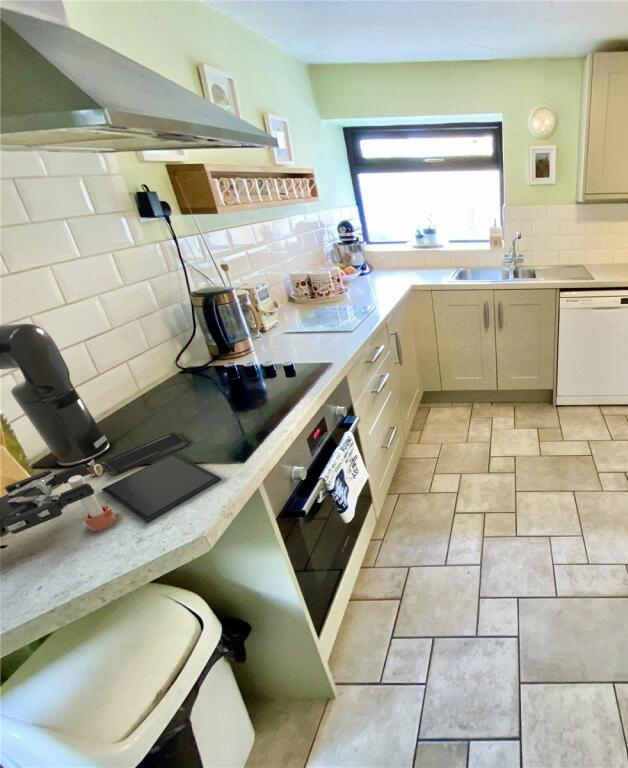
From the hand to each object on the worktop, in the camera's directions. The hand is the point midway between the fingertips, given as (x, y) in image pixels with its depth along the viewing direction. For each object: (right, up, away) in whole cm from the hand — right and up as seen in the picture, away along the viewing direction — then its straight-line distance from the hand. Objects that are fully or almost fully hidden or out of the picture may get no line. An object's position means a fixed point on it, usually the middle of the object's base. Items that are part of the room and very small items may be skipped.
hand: (89, 478), depth 77 cm
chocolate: (-16, -4, +18) cm, 24 cm away
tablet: (+3, -5, +13) cm, 14 cm away
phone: (-10, 0, +24) cm, 26 cm away
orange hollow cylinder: (-1, -10, +4) cm, 10 cm away
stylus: (-1, -10, +3) cm, 10 cm away
